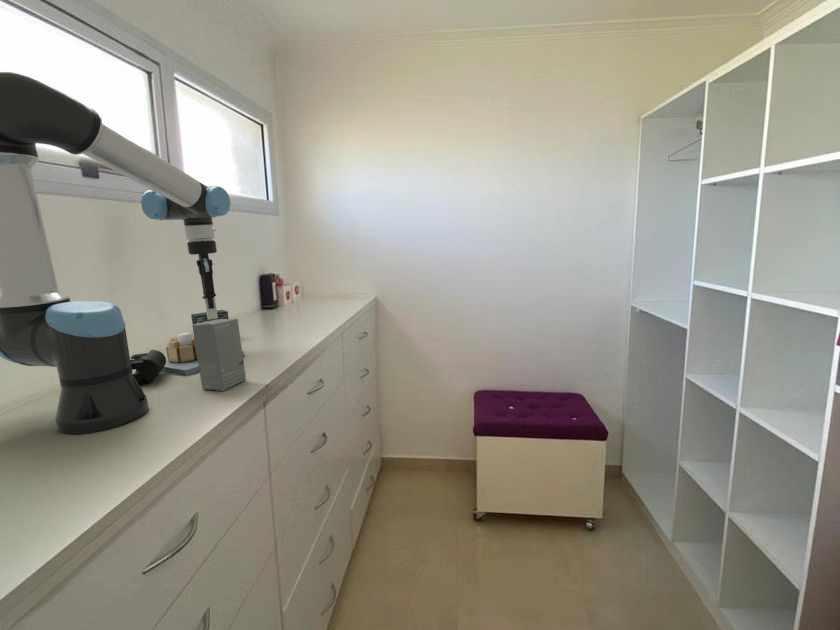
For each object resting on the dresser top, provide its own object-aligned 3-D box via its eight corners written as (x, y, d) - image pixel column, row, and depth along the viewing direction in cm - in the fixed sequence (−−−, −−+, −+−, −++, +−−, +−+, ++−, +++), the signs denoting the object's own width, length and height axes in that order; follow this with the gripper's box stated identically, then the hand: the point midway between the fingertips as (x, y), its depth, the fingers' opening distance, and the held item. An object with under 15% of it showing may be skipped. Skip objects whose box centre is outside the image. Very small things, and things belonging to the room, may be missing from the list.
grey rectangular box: (223, 392, 101) (214, 324, 98) (199, 389, 103) (189, 324, 100) (248, 380, 109) (240, 317, 106) (225, 378, 111) (217, 316, 108)
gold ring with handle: (167, 364, 120) (164, 344, 119) (170, 355, 128) (167, 337, 127) (230, 354, 126) (228, 336, 125) (229, 347, 135) (227, 330, 134)
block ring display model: (186, 375, 114) (181, 344, 113) (143, 368, 123) (138, 339, 121) (244, 356, 131) (241, 328, 129) (202, 351, 139) (199, 324, 138)
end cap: (161, 383, 109) (156, 357, 108) (128, 388, 107) (123, 361, 106) (168, 372, 118) (164, 348, 117) (138, 376, 116) (133, 351, 115)
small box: (226, 337, 157) (223, 308, 155) (232, 340, 152) (228, 310, 150) (194, 343, 150) (190, 313, 148) (199, 346, 145) (195, 315, 144)
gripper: (217, 239, 125) (228, 320, 130) (212, 239, 136) (223, 313, 141) (188, 241, 122) (200, 324, 126) (185, 240, 133) (197, 317, 137)
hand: (212, 318), depth 134 cm, fingers closed
